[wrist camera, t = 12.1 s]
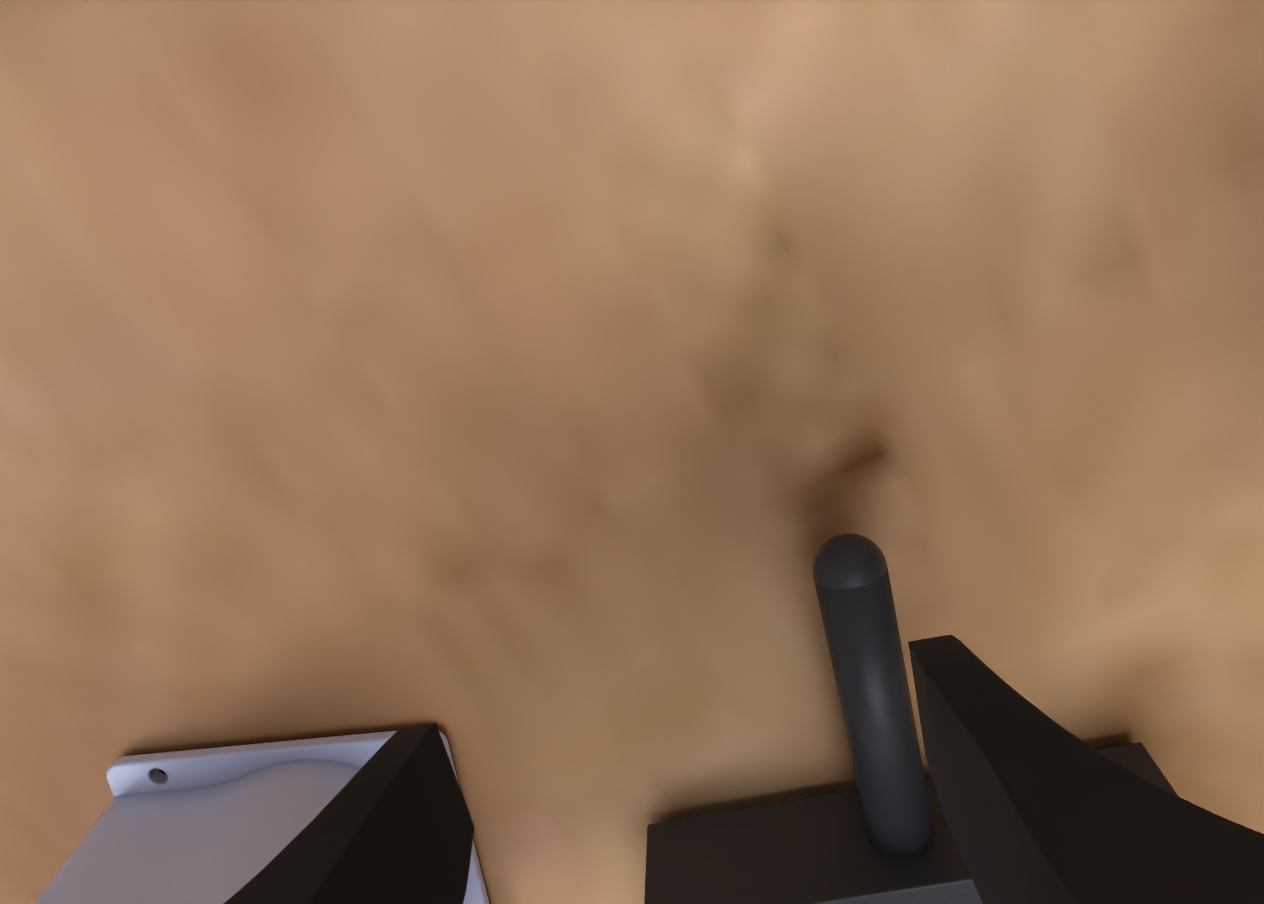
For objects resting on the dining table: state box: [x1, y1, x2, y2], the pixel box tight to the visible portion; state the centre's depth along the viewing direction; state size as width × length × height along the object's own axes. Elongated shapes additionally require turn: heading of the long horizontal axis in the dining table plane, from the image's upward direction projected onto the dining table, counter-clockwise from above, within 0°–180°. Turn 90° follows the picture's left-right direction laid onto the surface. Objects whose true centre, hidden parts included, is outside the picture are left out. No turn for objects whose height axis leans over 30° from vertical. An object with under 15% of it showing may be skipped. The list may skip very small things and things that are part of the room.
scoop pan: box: [645, 534, 1178, 904], centre depth 25 cm, size 19×13×4 cm
